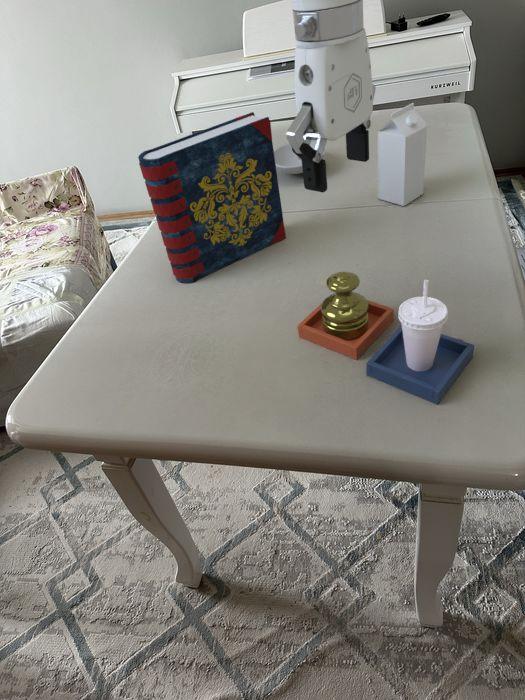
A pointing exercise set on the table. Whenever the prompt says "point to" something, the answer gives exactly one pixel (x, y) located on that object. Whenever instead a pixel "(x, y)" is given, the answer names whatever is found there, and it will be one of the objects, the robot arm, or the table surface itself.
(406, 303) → the smoothie
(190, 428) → the table surface
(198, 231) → the book
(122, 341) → the table surface
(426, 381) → the blue tray
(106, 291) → the table surface
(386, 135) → the milk carton
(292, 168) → the dish
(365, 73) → the robot arm
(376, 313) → the terracotta tray
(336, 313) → the brass weight
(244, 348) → the table surface
